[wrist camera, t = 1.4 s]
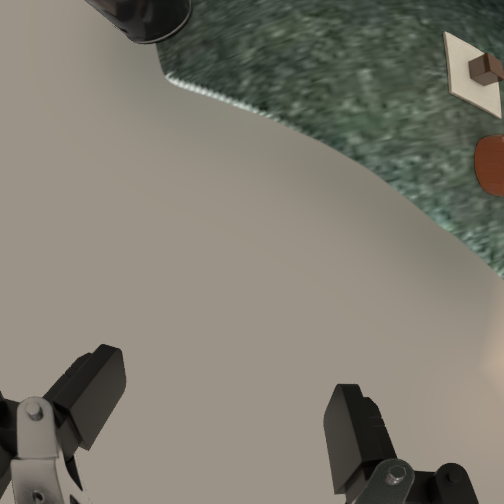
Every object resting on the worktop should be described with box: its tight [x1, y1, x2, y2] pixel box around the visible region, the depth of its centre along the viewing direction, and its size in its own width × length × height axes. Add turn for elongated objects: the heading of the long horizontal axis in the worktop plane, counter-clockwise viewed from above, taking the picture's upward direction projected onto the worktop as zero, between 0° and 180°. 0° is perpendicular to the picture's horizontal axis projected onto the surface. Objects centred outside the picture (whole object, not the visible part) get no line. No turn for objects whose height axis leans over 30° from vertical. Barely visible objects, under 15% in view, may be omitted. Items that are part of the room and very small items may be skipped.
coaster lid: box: [443, 32, 504, 119], centre depth 21 cm, size 10×10×6 cm
